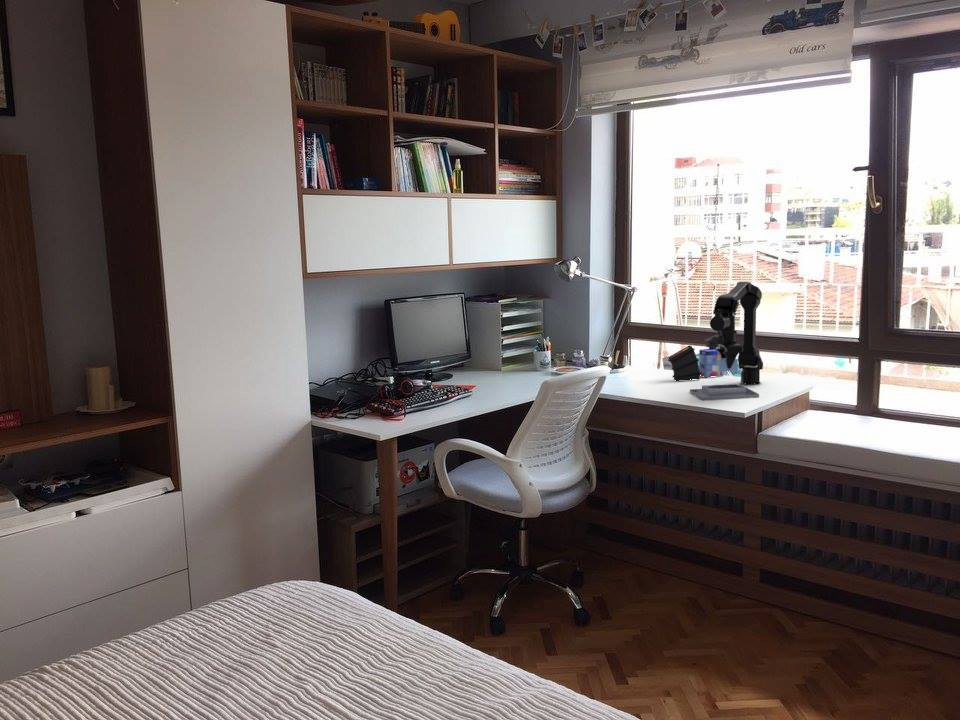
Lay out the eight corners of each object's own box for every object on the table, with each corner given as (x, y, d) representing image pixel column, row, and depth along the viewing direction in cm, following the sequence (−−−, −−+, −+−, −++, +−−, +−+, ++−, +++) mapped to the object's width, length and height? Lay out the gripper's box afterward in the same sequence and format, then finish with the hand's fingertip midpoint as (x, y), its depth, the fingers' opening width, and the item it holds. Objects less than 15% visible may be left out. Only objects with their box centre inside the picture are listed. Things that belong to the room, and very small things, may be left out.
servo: (734, 369, 319) (734, 355, 318) (737, 370, 315) (737, 357, 314) (711, 370, 319) (711, 356, 318) (714, 371, 315) (714, 358, 314)
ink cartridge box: (706, 378, 354) (705, 345, 352) (698, 376, 359) (698, 344, 357) (724, 376, 357) (724, 343, 355) (716, 374, 363) (716, 342, 360)
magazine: (707, 375, 351) (692, 346, 348) (681, 390, 350) (666, 360, 347) (703, 374, 355) (689, 344, 352) (677, 389, 354) (663, 359, 351)
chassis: (743, 389, 327) (743, 381, 326) (759, 397, 311) (759, 388, 310) (689, 392, 326) (689, 384, 325) (702, 400, 310) (702, 392, 310)
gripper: (699, 326, 324) (699, 365, 326) (714, 331, 305) (714, 372, 307) (726, 325, 324) (726, 363, 326) (743, 330, 305) (743, 371, 308)
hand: (727, 367), depth 317 cm, fingers closed on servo, 4 cm apart
